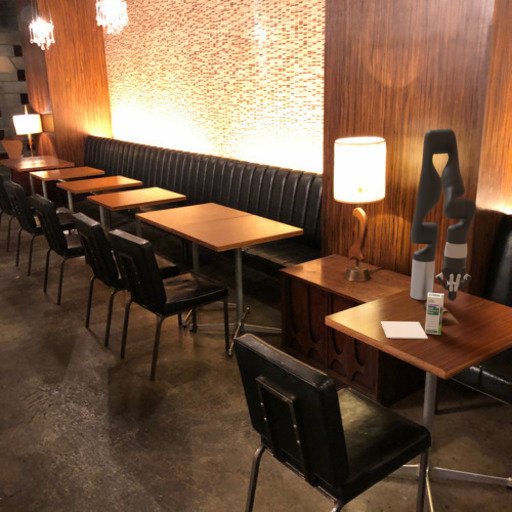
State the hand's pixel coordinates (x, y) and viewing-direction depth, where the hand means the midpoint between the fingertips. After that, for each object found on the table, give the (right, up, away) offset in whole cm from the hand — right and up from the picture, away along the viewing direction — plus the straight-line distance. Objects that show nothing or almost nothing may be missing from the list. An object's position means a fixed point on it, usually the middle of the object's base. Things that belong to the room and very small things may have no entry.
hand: (451, 300), depth 197 cm
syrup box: (-6, -12, +4) cm, 14 cm away
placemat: (-16, -12, +5) cm, 21 cm away
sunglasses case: (+3, -8, +19) cm, 21 cm away
